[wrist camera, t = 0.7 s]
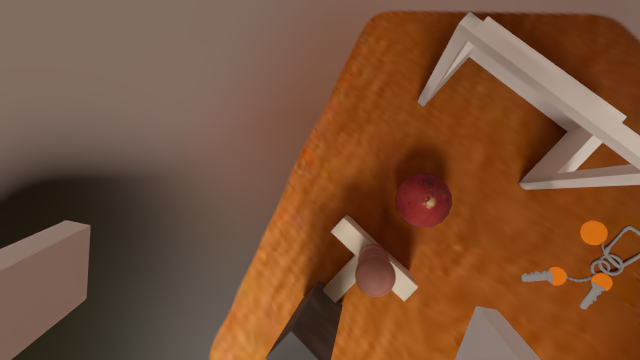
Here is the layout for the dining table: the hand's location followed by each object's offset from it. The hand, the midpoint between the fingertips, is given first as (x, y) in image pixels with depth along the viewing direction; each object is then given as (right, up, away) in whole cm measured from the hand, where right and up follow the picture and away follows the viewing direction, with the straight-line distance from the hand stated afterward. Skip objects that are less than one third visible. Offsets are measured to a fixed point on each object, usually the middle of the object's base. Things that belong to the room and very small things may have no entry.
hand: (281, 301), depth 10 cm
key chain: (+31, -5, +24) cm, 39 cm away
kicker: (+5, -8, +27) cm, 28 cm away
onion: (+13, +2, +26) cm, 29 cm away
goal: (+22, +12, +25) cm, 36 cm away
